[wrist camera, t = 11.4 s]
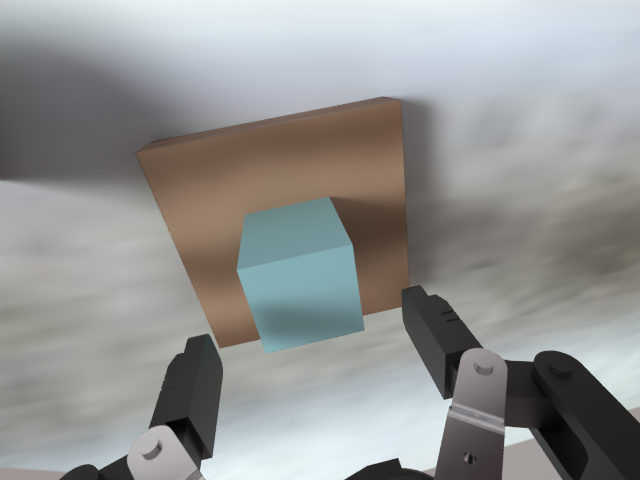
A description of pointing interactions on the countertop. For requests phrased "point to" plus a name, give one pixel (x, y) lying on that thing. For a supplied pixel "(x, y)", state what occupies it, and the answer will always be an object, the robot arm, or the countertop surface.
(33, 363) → the countertop surface
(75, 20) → the countertop surface
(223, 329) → the walnut base
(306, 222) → the teal block
